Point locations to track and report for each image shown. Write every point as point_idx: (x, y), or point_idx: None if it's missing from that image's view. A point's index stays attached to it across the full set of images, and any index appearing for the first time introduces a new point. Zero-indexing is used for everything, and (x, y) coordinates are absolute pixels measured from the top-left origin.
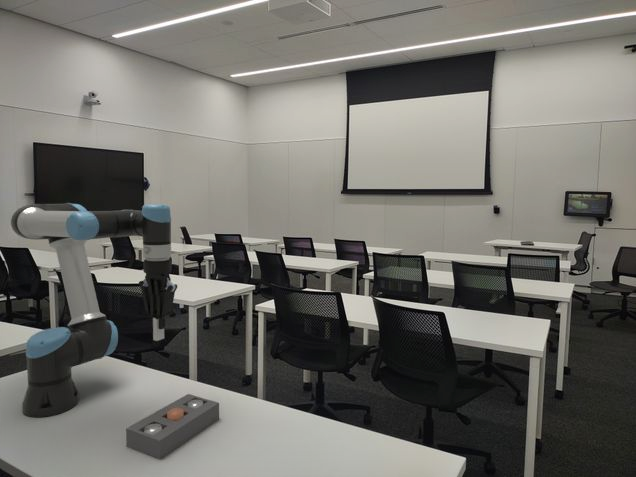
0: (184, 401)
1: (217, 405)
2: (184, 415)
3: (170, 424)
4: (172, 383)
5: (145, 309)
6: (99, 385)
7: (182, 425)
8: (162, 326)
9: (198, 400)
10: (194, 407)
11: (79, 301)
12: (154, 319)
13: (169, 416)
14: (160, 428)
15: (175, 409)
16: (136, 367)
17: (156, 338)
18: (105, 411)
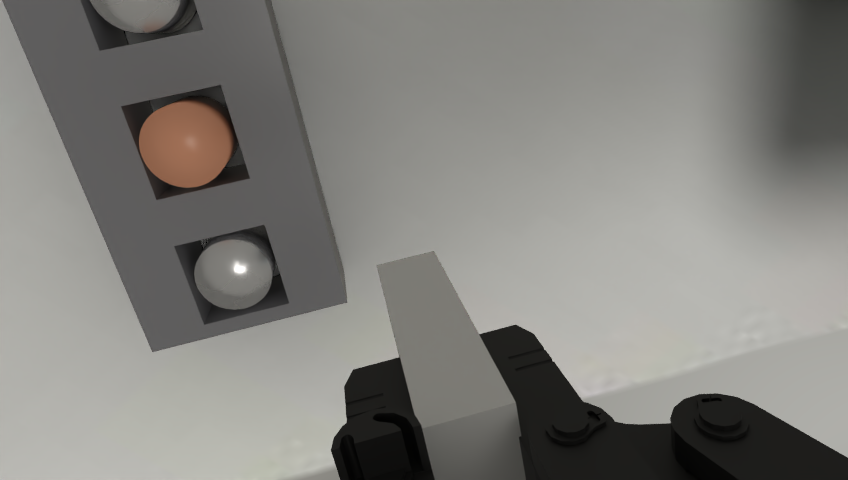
0: (286, 248)
1: (149, 337)
2: (192, 188)
3: (106, 70)
4: (600, 344)
5: (815, 444)
6: (838, 124)
7: (51, 106)
8: (350, 410)
9: (246, 299)
10: (202, 252)
11: None
12: (471, 400)
13: (170, 104)
14: (100, 9)
15: (205, 159)
16: (844, 315)
17: (389, 273)
18: (612, 17)
